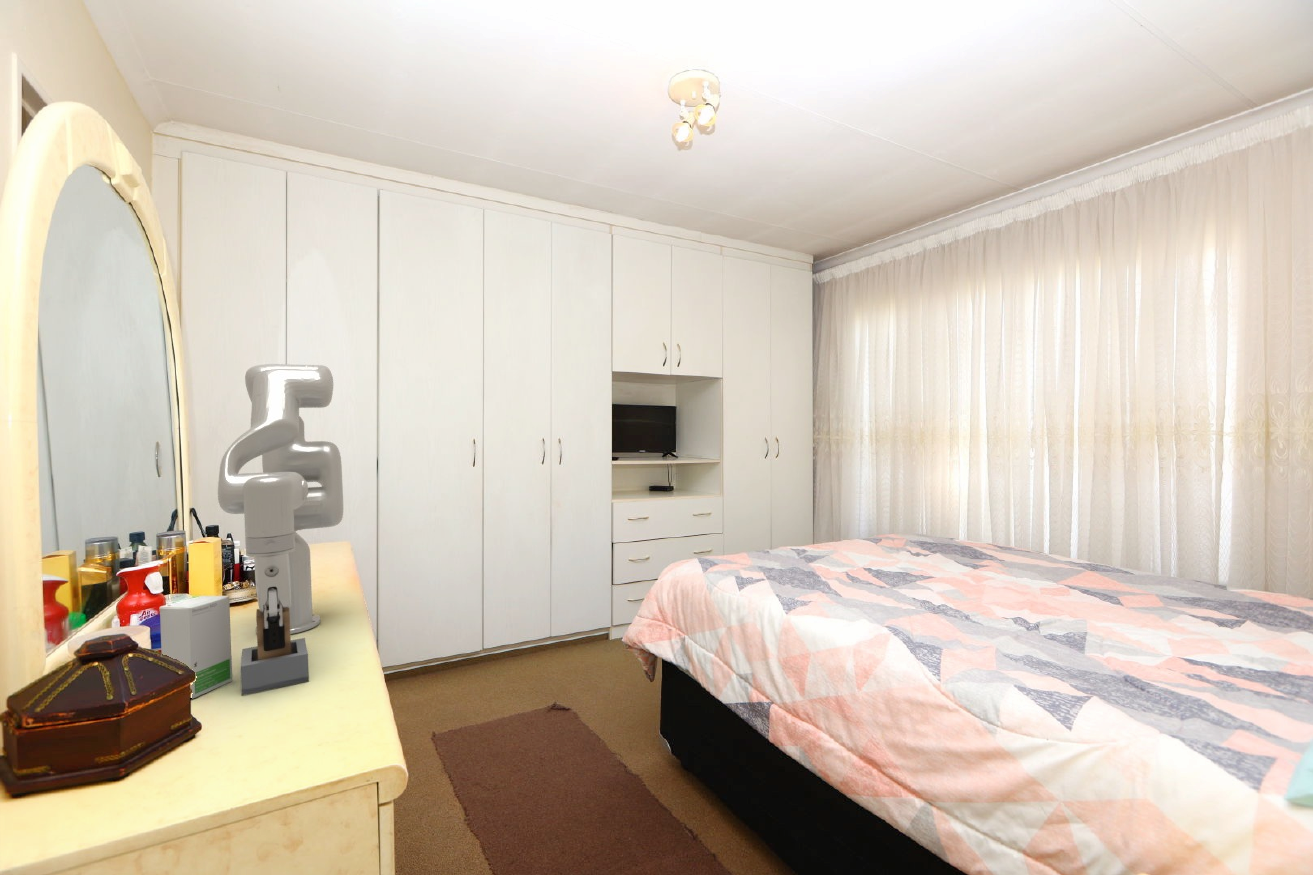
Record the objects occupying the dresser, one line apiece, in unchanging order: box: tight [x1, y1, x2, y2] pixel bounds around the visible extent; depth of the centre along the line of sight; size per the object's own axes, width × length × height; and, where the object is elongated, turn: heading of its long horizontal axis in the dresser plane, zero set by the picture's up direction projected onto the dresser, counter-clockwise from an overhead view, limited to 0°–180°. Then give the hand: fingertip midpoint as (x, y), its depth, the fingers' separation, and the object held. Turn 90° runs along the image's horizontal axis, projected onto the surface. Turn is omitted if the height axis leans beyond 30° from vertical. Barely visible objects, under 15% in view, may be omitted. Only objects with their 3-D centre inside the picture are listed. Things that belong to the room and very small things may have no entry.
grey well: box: [240, 637, 310, 697], centre depth 112 cm, size 10×10×5 cm
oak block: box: [255, 605, 292, 660], centre depth 112 cm, size 5×5×10 cm
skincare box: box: [159, 595, 233, 700], centre depth 108 cm, size 8×7×16 cm
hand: (274, 643), depth 112 cm, fingers closed on oak block, 5 cm apart
